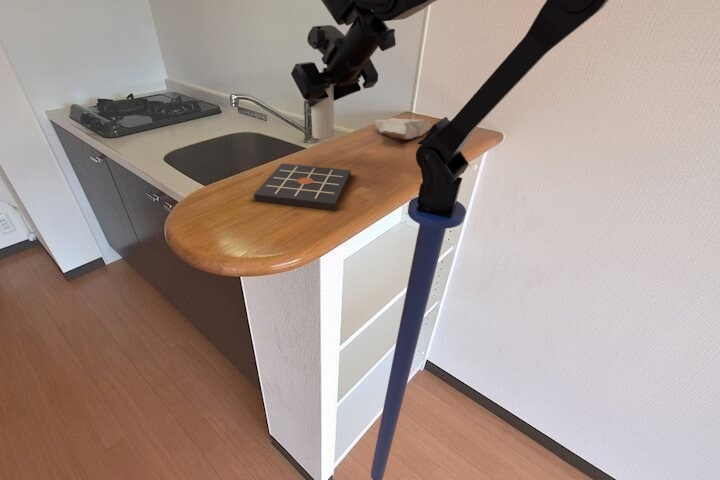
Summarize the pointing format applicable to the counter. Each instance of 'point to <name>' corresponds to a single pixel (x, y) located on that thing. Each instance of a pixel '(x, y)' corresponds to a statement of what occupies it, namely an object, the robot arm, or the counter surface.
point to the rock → (403, 127)
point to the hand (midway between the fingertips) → (318, 103)
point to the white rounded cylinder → (323, 116)
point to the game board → (304, 186)
